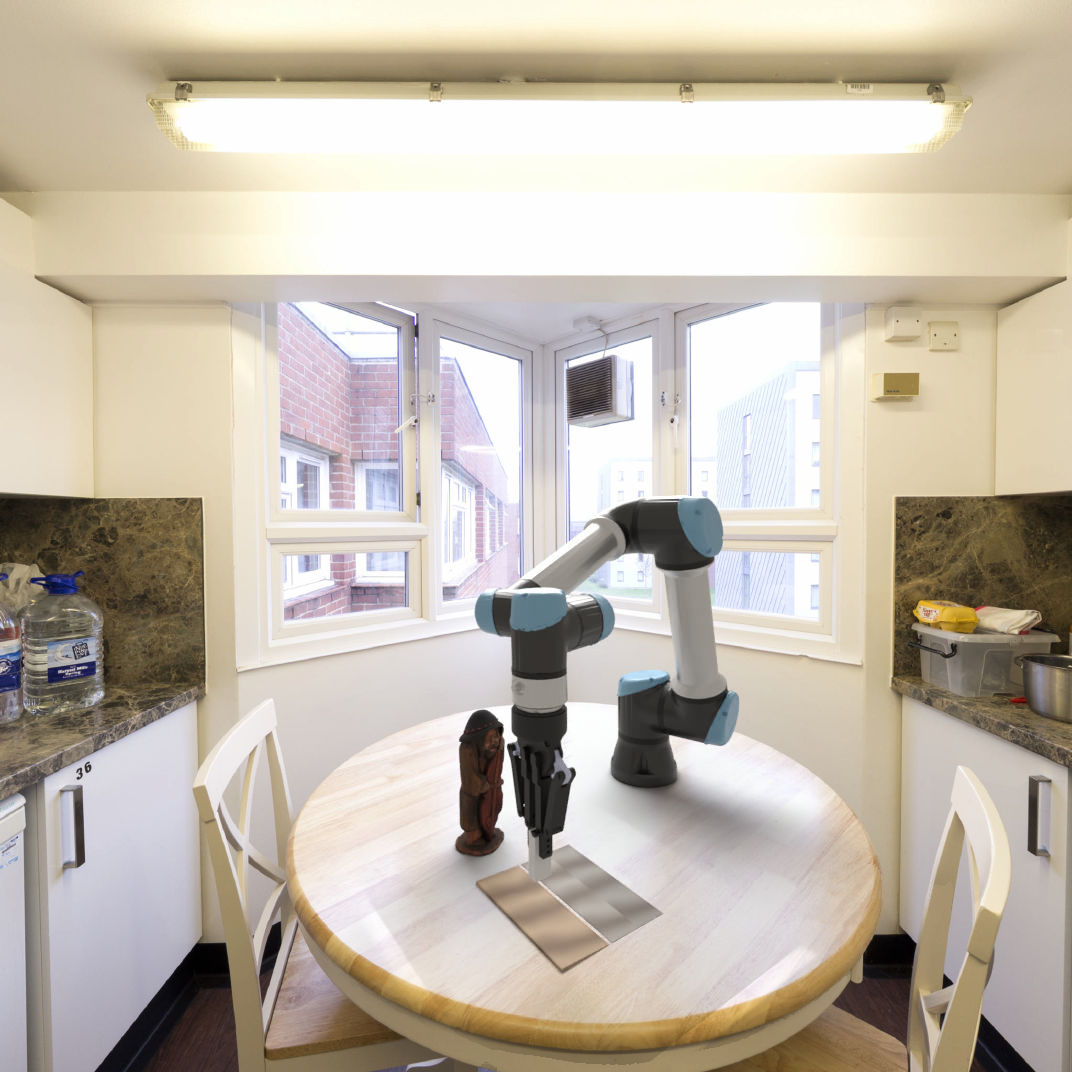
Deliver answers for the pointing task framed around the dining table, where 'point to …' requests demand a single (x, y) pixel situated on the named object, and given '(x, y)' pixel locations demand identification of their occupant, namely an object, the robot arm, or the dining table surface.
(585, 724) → the dining table surface
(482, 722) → the figurine
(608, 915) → the laid strip
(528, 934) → the plank
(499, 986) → the dining table surface
